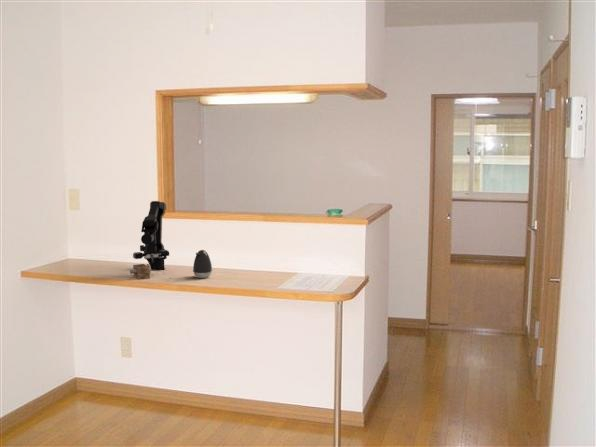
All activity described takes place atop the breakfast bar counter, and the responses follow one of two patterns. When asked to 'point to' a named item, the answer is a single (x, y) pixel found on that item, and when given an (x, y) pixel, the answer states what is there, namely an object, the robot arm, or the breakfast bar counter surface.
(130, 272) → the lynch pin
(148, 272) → the block
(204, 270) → the black egg-shaped device
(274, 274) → the breakfast bar counter surface
